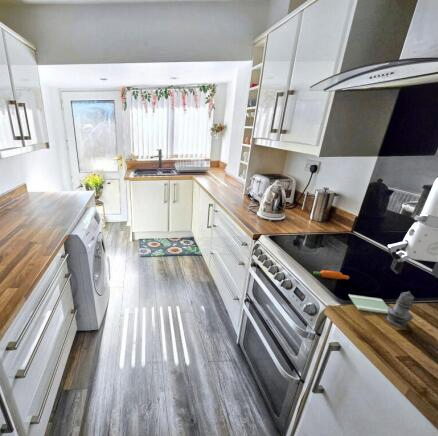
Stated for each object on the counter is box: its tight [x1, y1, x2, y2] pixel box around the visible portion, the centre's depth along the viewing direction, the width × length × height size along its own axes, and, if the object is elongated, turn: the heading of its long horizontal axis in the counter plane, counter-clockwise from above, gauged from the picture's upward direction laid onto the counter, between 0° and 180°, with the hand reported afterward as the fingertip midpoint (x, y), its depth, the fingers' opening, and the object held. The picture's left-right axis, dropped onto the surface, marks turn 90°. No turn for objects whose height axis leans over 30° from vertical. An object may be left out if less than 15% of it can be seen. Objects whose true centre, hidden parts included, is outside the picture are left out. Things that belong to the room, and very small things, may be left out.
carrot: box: [312, 269, 350, 280], centre depth 100 cm, size 13×3×3 cm, turn 73°
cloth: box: [348, 293, 389, 315], centre depth 85 cm, size 8×10×1 cm
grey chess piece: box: [384, 290, 415, 329], centre depth 76 cm, size 6×6×12 cm
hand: (415, 273), depth 71 cm, fingers open, 9 cm apart
